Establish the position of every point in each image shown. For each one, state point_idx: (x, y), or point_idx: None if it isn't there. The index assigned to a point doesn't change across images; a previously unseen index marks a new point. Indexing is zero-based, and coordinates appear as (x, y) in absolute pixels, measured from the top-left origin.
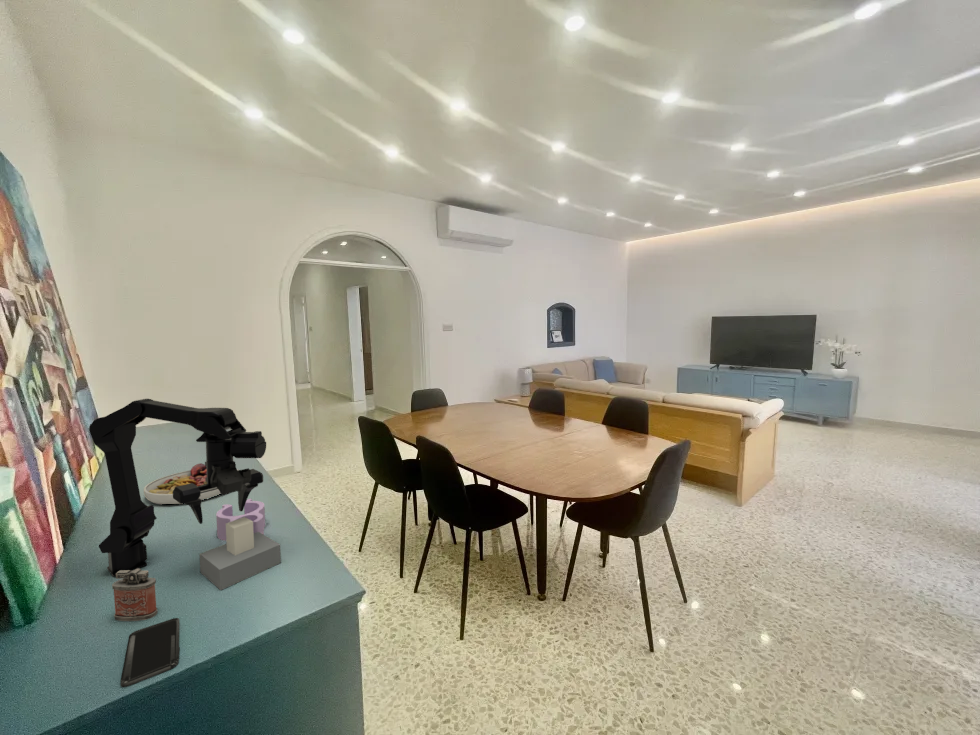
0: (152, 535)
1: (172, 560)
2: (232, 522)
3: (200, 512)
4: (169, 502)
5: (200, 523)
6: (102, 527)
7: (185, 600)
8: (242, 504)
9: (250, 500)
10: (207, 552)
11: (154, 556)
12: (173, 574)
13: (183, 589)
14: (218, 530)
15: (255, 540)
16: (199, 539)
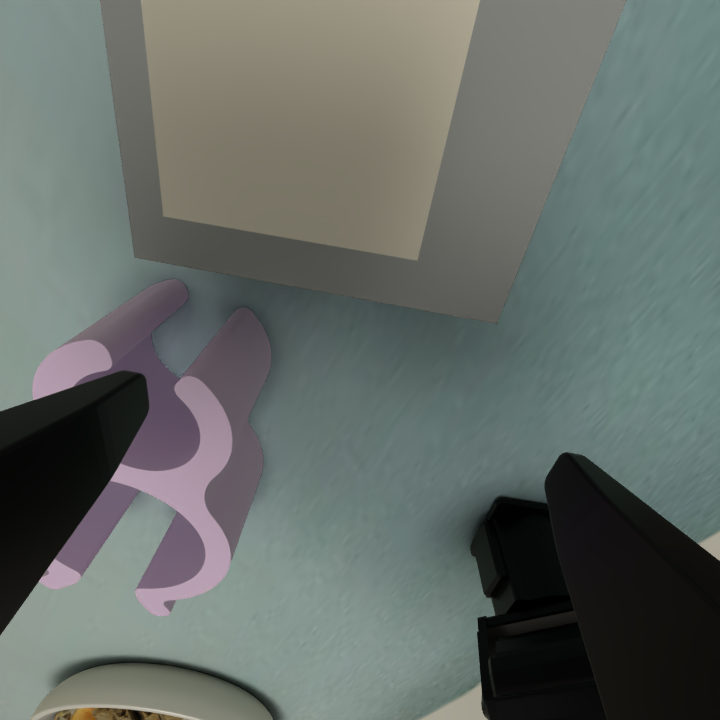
0: (366, 616)
1: (441, 462)
2: (356, 198)
3: (714, 593)
4: (251, 704)
5: (586, 458)
6: (397, 701)
7: (707, 71)
8: (55, 415)
9: (48, 573)
10: (472, 291)
11: (445, 525)
12: (515, 371)
13: (609, 205)
14: (253, 494)
15: None
16: (306, 510)
